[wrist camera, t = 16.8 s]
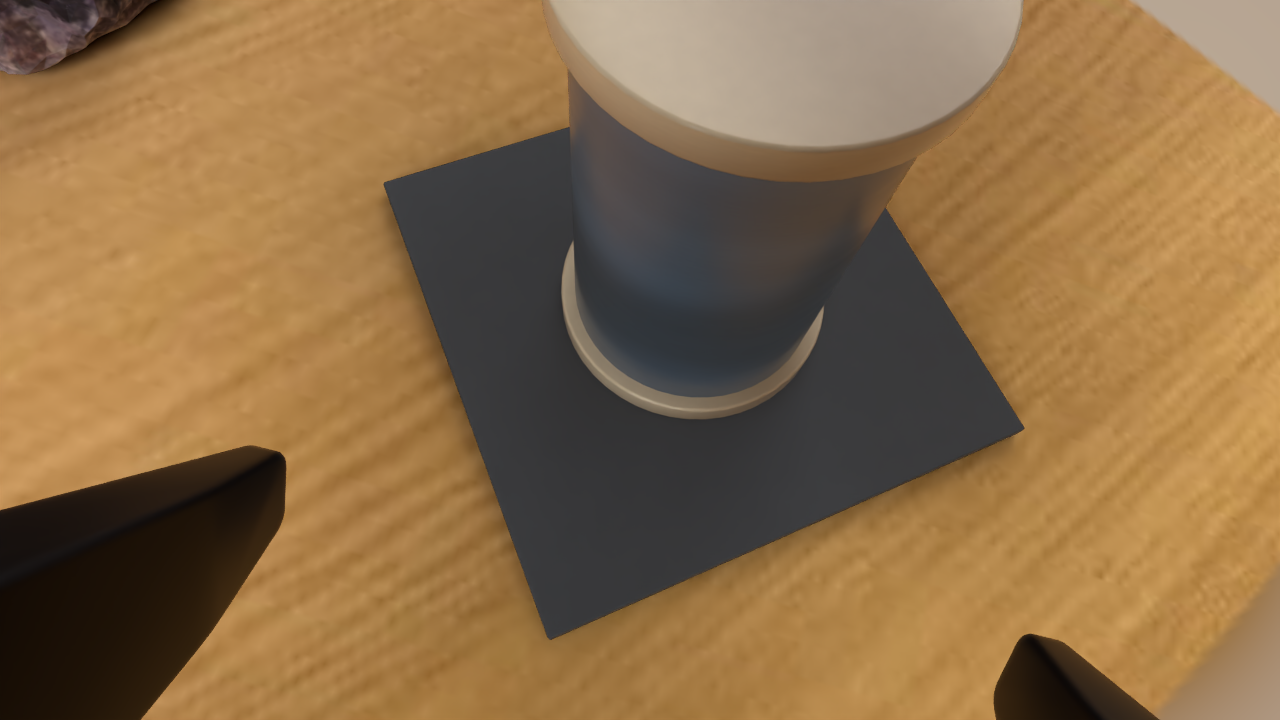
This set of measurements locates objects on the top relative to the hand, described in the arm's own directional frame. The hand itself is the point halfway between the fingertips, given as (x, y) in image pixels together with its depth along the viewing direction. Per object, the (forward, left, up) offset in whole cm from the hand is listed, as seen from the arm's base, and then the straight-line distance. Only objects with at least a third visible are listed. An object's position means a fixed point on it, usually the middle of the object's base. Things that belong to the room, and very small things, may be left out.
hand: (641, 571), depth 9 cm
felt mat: (+6, -4, -6) cm, 9 cm away
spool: (+6, -4, -6) cm, 9 cm away
